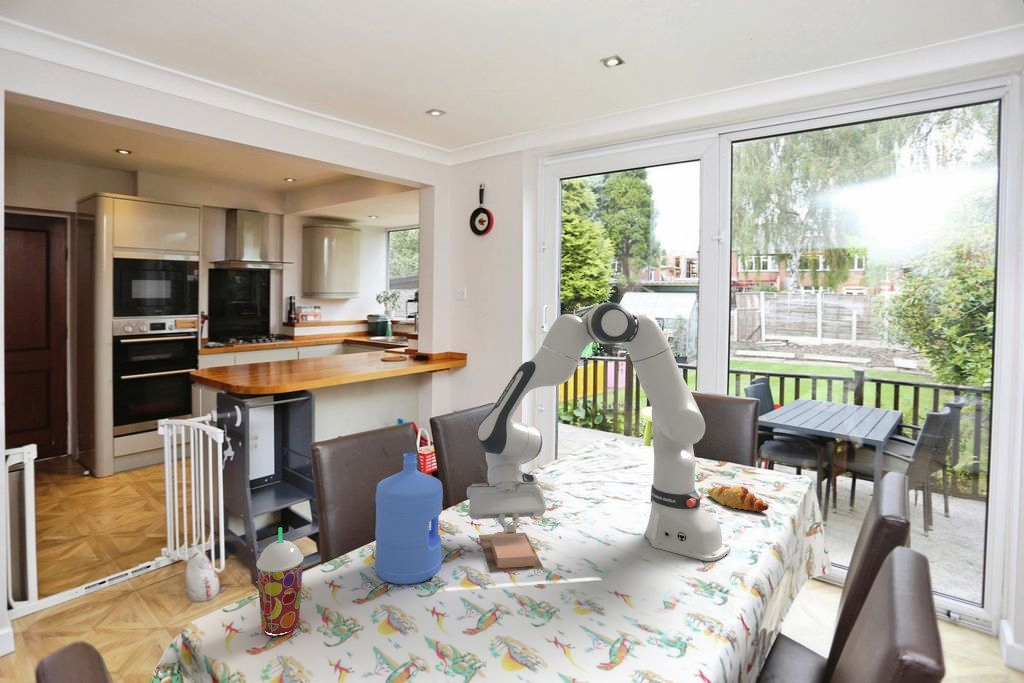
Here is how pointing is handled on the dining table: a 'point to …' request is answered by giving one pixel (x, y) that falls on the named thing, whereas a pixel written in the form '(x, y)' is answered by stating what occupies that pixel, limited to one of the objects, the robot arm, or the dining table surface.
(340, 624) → the dining table surface
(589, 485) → the dining table surface
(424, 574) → the water jug
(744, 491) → the croissant
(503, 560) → the terracotta tile
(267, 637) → the dining table surface
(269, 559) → the smoothie
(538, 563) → the walnut board
